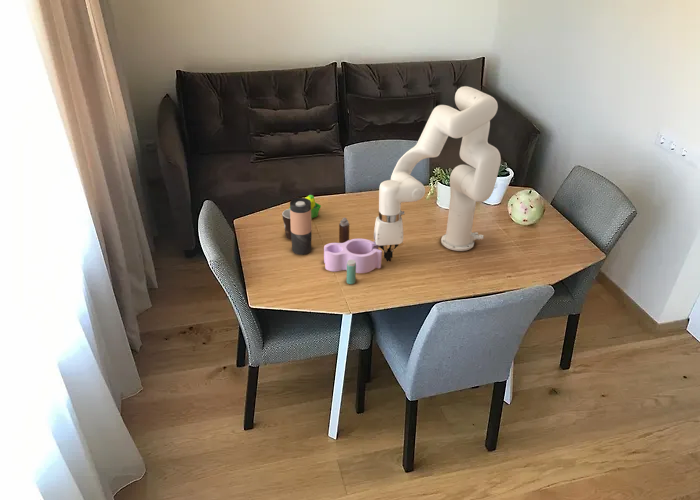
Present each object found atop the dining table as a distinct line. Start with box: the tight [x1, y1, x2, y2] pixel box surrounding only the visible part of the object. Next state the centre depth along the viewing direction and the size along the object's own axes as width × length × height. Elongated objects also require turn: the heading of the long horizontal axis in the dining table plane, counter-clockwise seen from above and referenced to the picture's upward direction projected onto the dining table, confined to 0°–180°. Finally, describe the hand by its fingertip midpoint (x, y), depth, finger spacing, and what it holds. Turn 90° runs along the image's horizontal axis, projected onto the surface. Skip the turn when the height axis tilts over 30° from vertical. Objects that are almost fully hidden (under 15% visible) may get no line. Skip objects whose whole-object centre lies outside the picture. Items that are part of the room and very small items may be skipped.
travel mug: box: [289, 197, 313, 256], centre depth 216 cm, size 8×8×20 cm
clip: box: [323, 238, 383, 274], centre depth 211 cm, size 20×12×7 cm, turn 98°
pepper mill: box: [338, 217, 350, 243], centre depth 220 cm, size 4×4×13 cm
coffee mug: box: [281, 208, 292, 241], centre depth 228 cm, size 12×9×10 cm
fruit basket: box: [288, 194, 322, 220], centre depth 239 cm, size 11×9×11 cm
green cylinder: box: [345, 260, 357, 285], centre depth 201 cm, size 3×3×8 cm
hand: (388, 259), depth 214 cm, fingers closed
